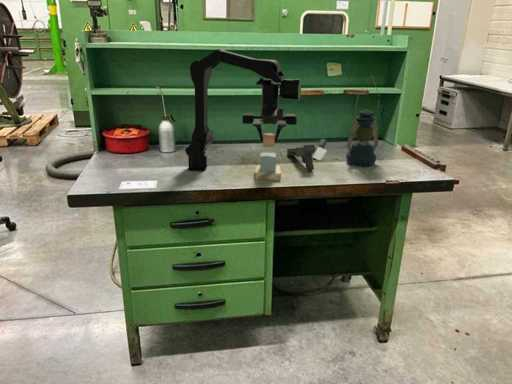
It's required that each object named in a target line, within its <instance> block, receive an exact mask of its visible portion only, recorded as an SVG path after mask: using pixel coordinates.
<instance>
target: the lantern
mask: <svg viewBox="0 0 512 384" xmlns="http://www.w3.org/2000/svg"><path fill="white" fill-rule="evenodd" d="M370 77H371V78H372V81H373V84H374V86H375V88H376V92H377V95H378V96H380V93H379V90H378V88H377V85H376V82H375V80H374V77H373V75H372V74H370V75H369V76H368V78H367V80H366V81H365V82H364V85H363V87H362V88H361V90H360V91H359V93H358V95H357V98H356V102H355V108H354V112H353V113H354V114H353V119H354V121H353V123H352V126H351V129H350V133H349V136H348V139H347V142H346V143H347V144H346V149H347V150H348V152H347V153H346V155H345V156H346V157H345V158H346V162H347V163H348V164H349V165H351V166H354V167H363V168H365V167H372V166H373V165H374V164H375V163H376V161H377V155H376V154H375V150H376V148H377V147H378V144H379V136H378V135H379V134H378V122H377V117H378V115H379V112H377V114H376V116H374V112H373V111H371V110H370V109H363V110H360V111H358V115H356V110H357V104H358V99H359V96H360V94H361V93H362V91H363V89H364V87H365V85H366V84H367V82H368V81H369V79H370ZM379 106H380V100H378V104H377V109H380V108H379ZM357 125H358V126H357ZM371 125H372V126H371ZM354 136H355V138H356V139H357V142H356V141H355V142H353V143H352V141H353V139H354ZM372 138H373V144H371V143H370V142H369V141H370V140H371V139H372Z"/></svg>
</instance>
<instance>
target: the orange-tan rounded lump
mask: <svg viewBox="0 0 512 384" xmlns="http://www.w3.org/2000/svg"><path fill="white" fill-rule="evenodd" d="M275 134H276V133H273V132H264V133H262V135H263V143H262V146H263V147H265V148H274V147H275V146H276V143H275Z"/></svg>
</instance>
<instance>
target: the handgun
mask: <svg viewBox="0 0 512 384" xmlns="http://www.w3.org/2000/svg"><path fill="white" fill-rule="evenodd" d="M286 151H287V152H286V156H289V157H291V156H292V157H295V158H296V157H299V158H301V162H302V163H303V164H305V167H306V168H305V169H306V172H311V171H313V170H314V169H315V167H314V161H313V155H314V154H315V153H316V146H315V144H305V145H303V146H302V147H295V148H294V147H293V148H287V149H286Z"/></svg>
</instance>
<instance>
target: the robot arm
mask: <svg viewBox="0 0 512 384" xmlns="http://www.w3.org/2000/svg"><path fill="white" fill-rule="evenodd" d="M221 63H223V64H226V65H227V64H228V65H231V66H234V67H237V68H242V69H244V70H245V69H246V70H249V71H252V72H254V73H255V74H257V75H258V76H260V78H259V80H258V81H256V82H255V84H256V85H260V86H261V110H260V111H261V115H255V112H244V113H243V114H242V121H241V122H242V124H244V125H245V124H246V125H251V124H252V127H255V128H256V130H257V132H258V135H259V139H260V142H261V143H262V144H263V128H262V127H263V126H262V124H264V125H268V124H270V125H271V124H272V125H276V127H275V128H276V129H275V133H274V134H275V144H277V141H278V139H279V135H280V134H281V131H282V130H283V128H286V127H287V125H292V126H293V125H296V126H297V122H298V121H297V120H298V117H297V115H296V114H295V113H284V109H283V108H280V109H279V96H280V97H281V99H282V100H289V101H290V100H291V101H300V99H301V95H302V87H301V79H299V78H296V79H293V78H292V79H288V78H287V77H286V76H285V74H284V73H283V71H282V67H281V64H280V62H279V61H278V60H276V59H269V58H268V59H266V58H264V59H263V58H254V57H251V56H246V55H242V54H240V53H235V52H233V51H228V50H225V49H223V48H220V49H215V50H214V51H213V52H212V53H210V54H208V55H206V56H204V57H203V58H201V59H199V60H198V59H197V60H194V61H193V62H192V63H190V65H189V73H190V79H191V81H192V84H193V87H194V129H193V131H192V133H191V139H190V144H189V145H188V146H187V147H186V148H185V149H184V151H185V153H186V156H187V158H188V159H187V160H188V167H187V170H188V171H206V169H207V168H208V165H209V164H208V155H206V152H207V150H208V148H209V146H211V145H212V142H213V141H214V137H213V134H214V129H210V128H209V125H208V118H209V117H208V115H209V114H208V112H209V111H208V107H209V106H208V104H209V103H208V102H209V101H208V100H209V99H208V97H209V95H208V93H209V92H208V91H209V90H208V88H209V83H210V81H211V77H212V71H213V69H215V68H216V67H217V66H219V65H220V64H221Z"/></svg>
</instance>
